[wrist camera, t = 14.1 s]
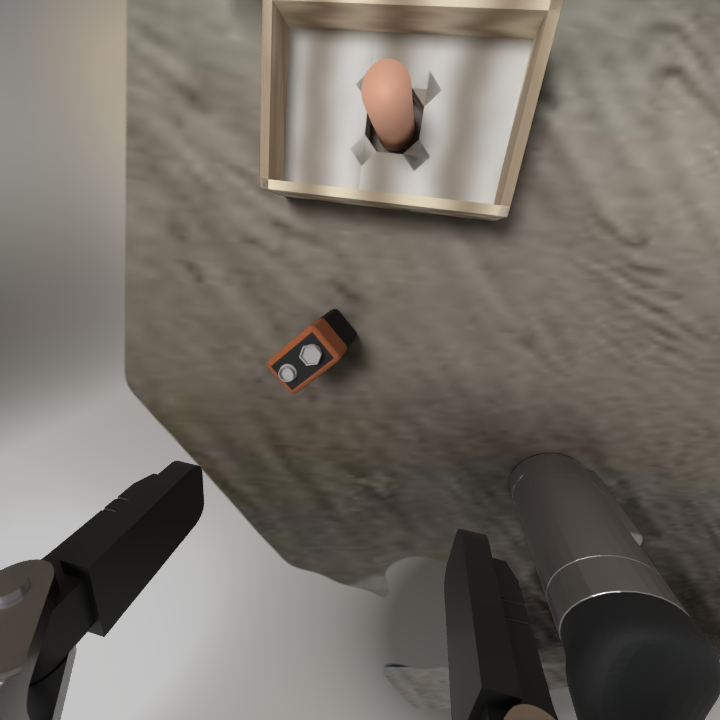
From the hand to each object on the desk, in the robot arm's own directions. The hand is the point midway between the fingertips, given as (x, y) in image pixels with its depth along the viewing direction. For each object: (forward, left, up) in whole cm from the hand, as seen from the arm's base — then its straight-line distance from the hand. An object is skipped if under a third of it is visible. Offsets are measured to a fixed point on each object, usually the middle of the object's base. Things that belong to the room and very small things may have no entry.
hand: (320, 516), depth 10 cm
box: (+3, -18, -30) cm, 35 cm away
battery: (+8, +4, -30) cm, 32 cm away
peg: (+3, -18, -30) cm, 35 cm away
